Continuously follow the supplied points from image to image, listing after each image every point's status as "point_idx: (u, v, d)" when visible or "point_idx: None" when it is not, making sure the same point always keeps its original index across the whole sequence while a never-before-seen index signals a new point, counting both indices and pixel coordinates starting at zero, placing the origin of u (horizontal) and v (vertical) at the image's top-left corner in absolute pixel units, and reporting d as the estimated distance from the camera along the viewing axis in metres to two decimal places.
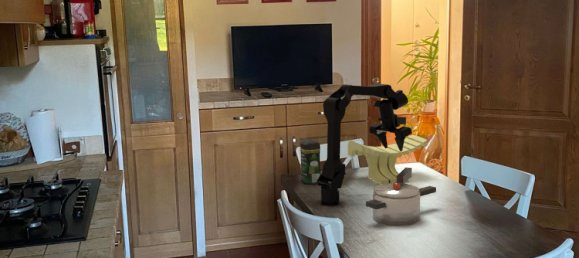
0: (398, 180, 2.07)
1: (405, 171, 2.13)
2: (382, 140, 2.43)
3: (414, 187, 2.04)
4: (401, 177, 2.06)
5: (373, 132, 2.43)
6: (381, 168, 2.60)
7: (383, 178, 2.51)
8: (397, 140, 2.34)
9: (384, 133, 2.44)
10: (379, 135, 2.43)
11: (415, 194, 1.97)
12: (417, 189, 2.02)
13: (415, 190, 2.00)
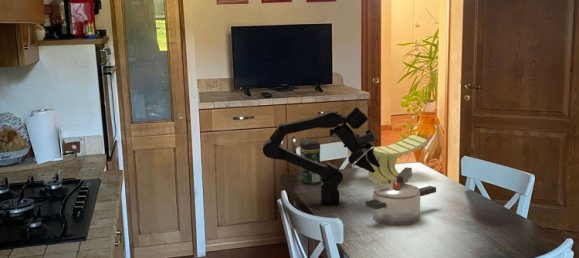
0: (398, 180, 2.07)
1: (405, 171, 2.13)
2: (369, 160, 2.24)
3: (414, 187, 2.04)
4: (401, 177, 2.06)
5: None
6: (381, 168, 2.60)
7: (383, 178, 2.51)
8: None
9: (370, 152, 2.23)
10: None
11: (415, 194, 1.97)
12: (417, 189, 2.02)
13: (415, 190, 2.00)
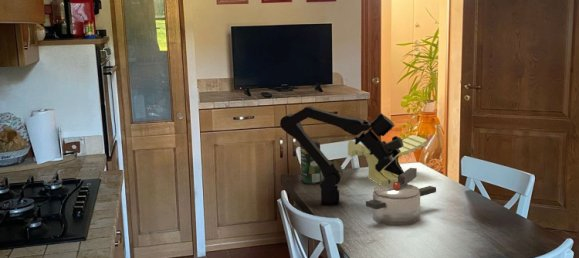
0: (399, 180, 2.07)
1: (408, 171, 2.13)
2: None
3: (415, 187, 2.03)
4: (402, 177, 2.06)
5: None
6: None
7: (383, 178, 2.51)
8: None
9: None
10: None
11: (414, 194, 1.97)
12: (417, 189, 2.01)
13: (415, 190, 2.00)
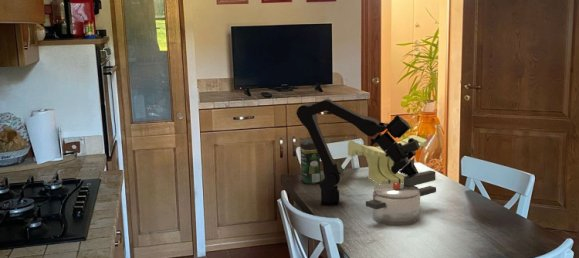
0: (405, 181, 2.06)
1: (421, 173, 2.09)
2: None
3: (415, 190, 2.01)
4: (407, 178, 2.05)
5: None
6: (381, 168, 2.60)
7: (383, 178, 2.51)
8: None
9: None
10: None
11: (406, 196, 1.96)
12: (415, 191, 1.98)
13: (411, 192, 1.98)
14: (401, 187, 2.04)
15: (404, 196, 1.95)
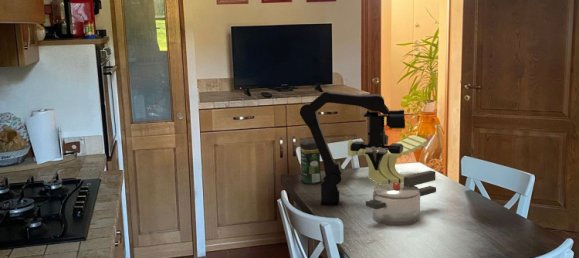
0: (405, 181, 2.06)
1: (421, 173, 2.09)
2: (374, 160, 2.18)
3: (415, 190, 2.01)
4: (407, 178, 2.05)
5: (356, 149, 2.18)
6: (381, 168, 2.60)
7: (383, 178, 2.51)
8: (379, 156, 2.16)
9: (375, 153, 2.20)
10: (373, 154, 2.17)
11: (406, 196, 1.96)
12: (415, 191, 1.98)
13: (411, 192, 1.98)
14: (401, 187, 2.04)
15: (404, 196, 1.95)
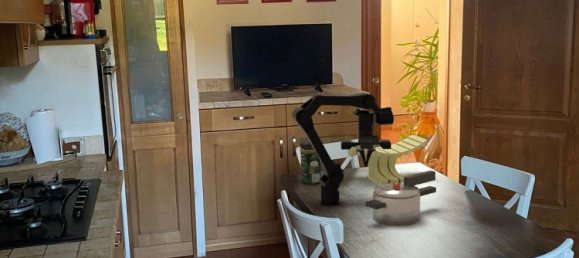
0: (405, 181, 2.06)
1: (421, 173, 2.09)
2: (366, 155, 2.26)
3: (415, 190, 2.01)
4: (407, 178, 2.05)
5: None
6: (381, 168, 2.60)
7: (383, 178, 2.51)
8: None
9: (367, 151, 2.23)
10: None
11: (406, 196, 1.96)
12: (415, 191, 1.98)
13: (411, 192, 1.98)
14: (401, 187, 2.04)
15: (404, 196, 1.95)
